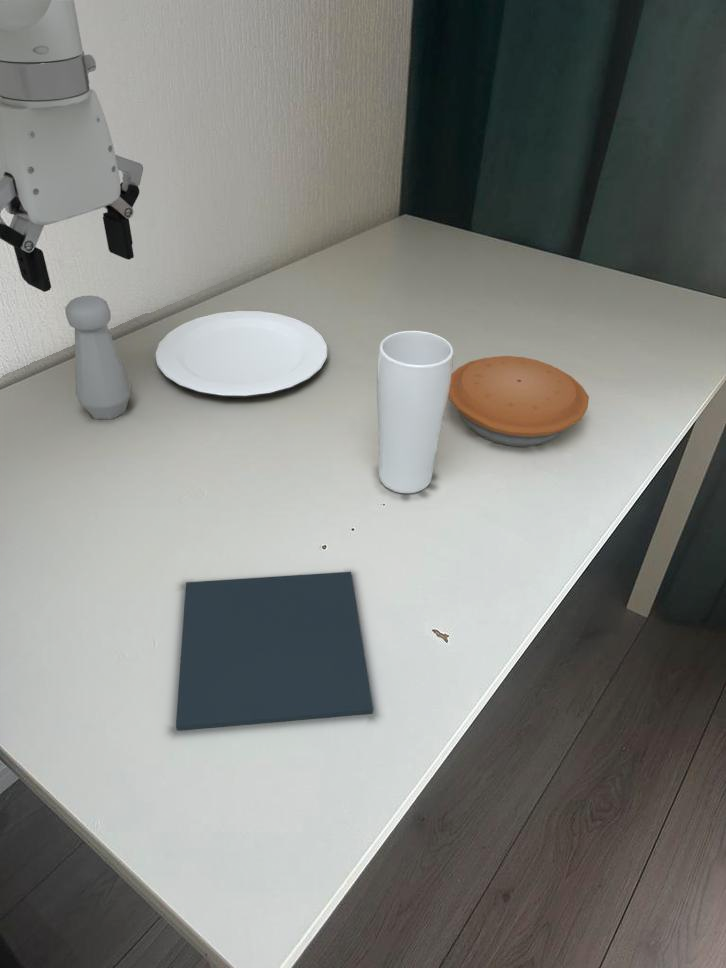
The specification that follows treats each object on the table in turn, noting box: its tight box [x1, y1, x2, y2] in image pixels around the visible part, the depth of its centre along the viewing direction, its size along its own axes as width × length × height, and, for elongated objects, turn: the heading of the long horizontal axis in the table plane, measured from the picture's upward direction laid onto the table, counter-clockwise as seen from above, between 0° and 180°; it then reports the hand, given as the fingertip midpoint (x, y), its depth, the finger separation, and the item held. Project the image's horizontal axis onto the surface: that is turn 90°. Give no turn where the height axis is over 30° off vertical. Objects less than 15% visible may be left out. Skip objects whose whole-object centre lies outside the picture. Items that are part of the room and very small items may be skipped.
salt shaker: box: [64, 295, 132, 420], centre depth 82 cm, size 6×6×13 cm
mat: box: [175, 571, 374, 731], centre depth 61 cm, size 14×14×1 cm
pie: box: [448, 355, 590, 448], centre depth 86 cm, size 16×16×5 cm
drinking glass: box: [376, 330, 454, 494], centre depth 73 cm, size 7×7×15 cm
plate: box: [155, 310, 328, 398], centre depth 95 cm, size 21×21×2 cm
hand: (81, 270), depth 76 cm, fingers open, 9 cm apart
